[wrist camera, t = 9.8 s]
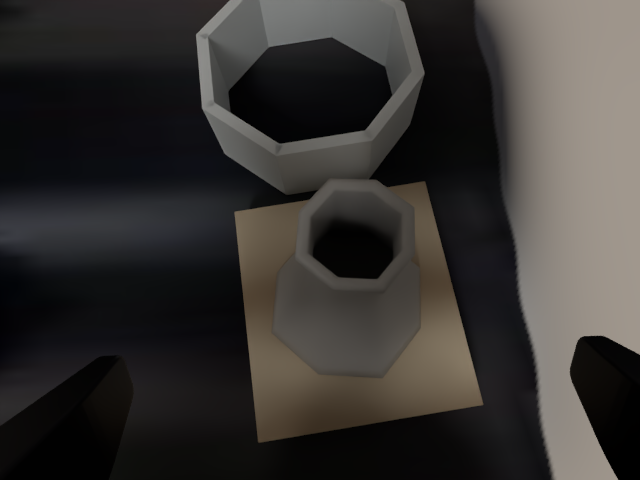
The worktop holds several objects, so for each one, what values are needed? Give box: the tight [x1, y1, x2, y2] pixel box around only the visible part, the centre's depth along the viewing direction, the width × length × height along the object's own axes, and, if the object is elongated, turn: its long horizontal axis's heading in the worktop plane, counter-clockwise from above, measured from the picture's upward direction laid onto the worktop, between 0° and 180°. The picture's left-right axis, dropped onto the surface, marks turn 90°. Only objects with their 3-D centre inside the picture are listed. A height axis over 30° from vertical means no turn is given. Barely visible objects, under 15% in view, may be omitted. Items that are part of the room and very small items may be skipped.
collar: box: [196, 0, 425, 195], centre depth 24 cm, size 11×11×4 cm
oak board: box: [235, 181, 483, 443], centre depth 21 cm, size 11×10×2 cm
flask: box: [271, 178, 421, 378], centre depth 16 cm, size 7×7×10 cm
